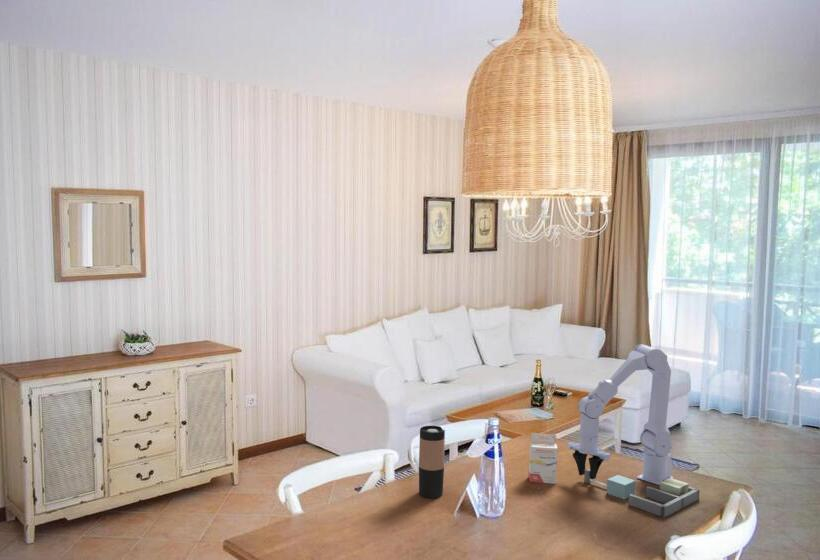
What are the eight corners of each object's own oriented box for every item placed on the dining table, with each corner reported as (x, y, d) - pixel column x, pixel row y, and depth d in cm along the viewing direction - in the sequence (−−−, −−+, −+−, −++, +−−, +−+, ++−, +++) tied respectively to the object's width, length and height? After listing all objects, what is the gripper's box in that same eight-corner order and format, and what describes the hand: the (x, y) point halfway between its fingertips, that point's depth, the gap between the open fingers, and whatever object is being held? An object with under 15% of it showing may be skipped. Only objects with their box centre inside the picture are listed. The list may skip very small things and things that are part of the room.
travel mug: (414, 496, 199) (415, 430, 197) (423, 487, 206) (425, 424, 205) (438, 500, 196) (440, 434, 195) (446, 491, 203) (448, 427, 202)
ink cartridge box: (529, 482, 212) (531, 437, 211) (528, 476, 217) (529, 432, 216) (556, 484, 211) (558, 438, 210) (554, 478, 216) (556, 434, 215)
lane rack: (664, 488, 210) (664, 478, 209) (698, 499, 201) (699, 489, 201) (628, 504, 196) (628, 494, 196) (664, 517, 188) (664, 507, 187)
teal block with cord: (590, 479, 216) (590, 465, 215) (634, 494, 204) (635, 480, 203) (579, 483, 212) (579, 469, 212) (624, 499, 200) (624, 485, 200)
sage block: (669, 493, 206) (670, 477, 205) (687, 499, 201) (688, 483, 201) (659, 498, 202) (660, 482, 201) (678, 504, 197) (679, 488, 197)
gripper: (562, 431, 215) (561, 472, 216) (601, 443, 204) (599, 486, 205) (575, 427, 219) (574, 468, 220) (614, 438, 209) (612, 481, 209)
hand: (587, 476), depth 213 cm, fingers open, 4 cm apart
